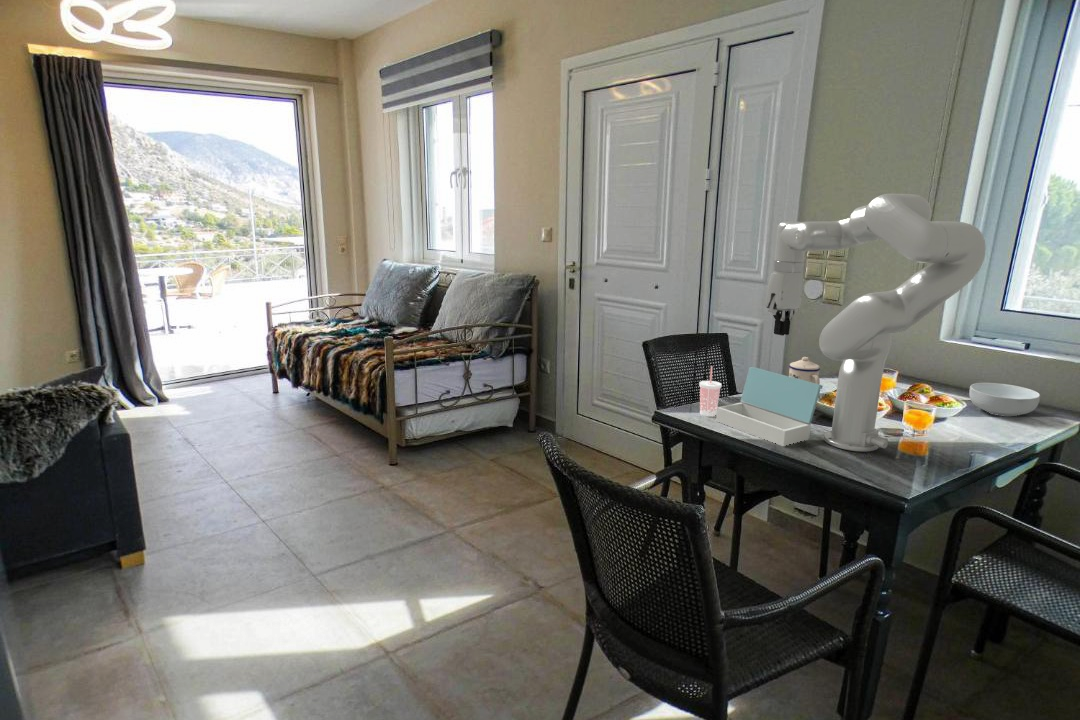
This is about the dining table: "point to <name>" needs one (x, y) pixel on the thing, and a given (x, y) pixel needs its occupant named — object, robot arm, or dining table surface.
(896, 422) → the dining table surface
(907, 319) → the robot arm
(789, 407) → the cover
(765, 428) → the hinged pencil box
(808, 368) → the teacup with lid
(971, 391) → the cereal bowl
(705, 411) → the beverage cup
